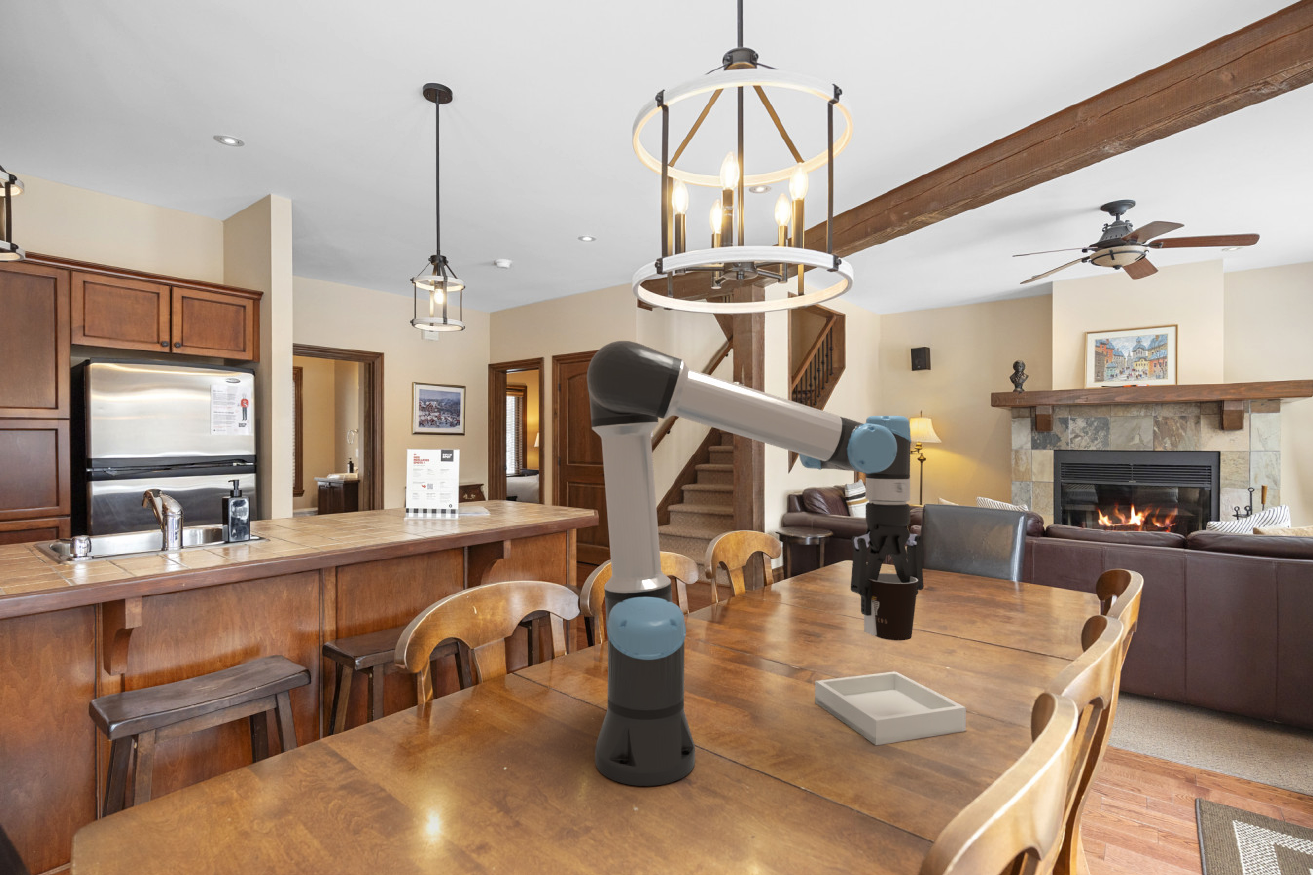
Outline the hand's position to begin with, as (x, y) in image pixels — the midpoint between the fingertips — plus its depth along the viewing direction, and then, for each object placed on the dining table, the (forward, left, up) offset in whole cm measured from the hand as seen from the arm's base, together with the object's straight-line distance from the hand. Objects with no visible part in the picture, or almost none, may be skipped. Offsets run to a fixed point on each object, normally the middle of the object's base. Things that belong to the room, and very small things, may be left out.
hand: (887, 631), depth 115 cm
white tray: (0, 0, -15) cm, 15 cm away
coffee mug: (+1, 0, 0) cm, 1 cm away
